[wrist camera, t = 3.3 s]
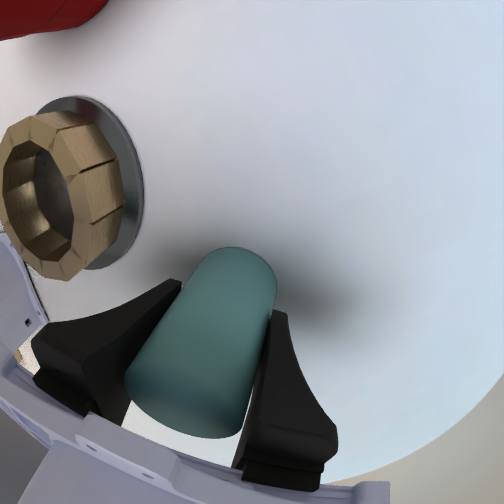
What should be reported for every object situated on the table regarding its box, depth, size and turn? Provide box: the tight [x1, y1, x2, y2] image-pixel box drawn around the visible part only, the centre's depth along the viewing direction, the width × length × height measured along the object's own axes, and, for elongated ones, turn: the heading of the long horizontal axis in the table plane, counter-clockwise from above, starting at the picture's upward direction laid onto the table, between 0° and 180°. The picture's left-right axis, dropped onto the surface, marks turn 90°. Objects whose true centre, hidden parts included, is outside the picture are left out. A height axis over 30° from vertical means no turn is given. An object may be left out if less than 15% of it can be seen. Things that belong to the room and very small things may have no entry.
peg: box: [123, 247, 277, 439], centre depth 12 cm, size 4×4×8 cm
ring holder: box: [0, 96, 144, 281], centre depth 14 cm, size 11×11×3 cm
